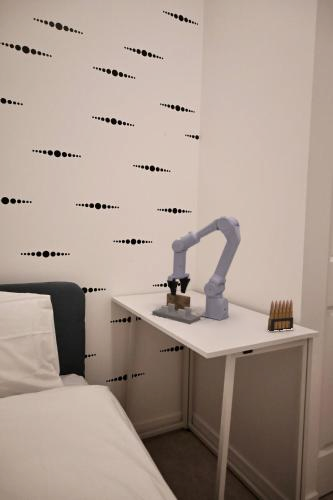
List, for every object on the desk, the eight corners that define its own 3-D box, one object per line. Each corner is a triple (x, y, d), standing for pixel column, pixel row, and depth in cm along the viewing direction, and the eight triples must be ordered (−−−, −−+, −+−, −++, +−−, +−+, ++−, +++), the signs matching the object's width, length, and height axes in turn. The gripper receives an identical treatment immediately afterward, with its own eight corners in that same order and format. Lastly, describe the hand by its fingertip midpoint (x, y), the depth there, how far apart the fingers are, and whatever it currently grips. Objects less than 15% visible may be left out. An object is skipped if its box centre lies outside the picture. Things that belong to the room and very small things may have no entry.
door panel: (189, 311, 146) (190, 296, 146) (185, 313, 144) (186, 297, 143) (169, 307, 154) (169, 292, 153) (165, 308, 151) (165, 293, 151)
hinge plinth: (200, 319, 133) (201, 309, 133) (189, 324, 127) (190, 313, 127) (163, 311, 146) (163, 301, 145) (152, 314, 139) (152, 304, 139)
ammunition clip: (289, 328, 125) (291, 298, 124) (293, 330, 123) (294, 300, 123) (267, 331, 122) (268, 300, 121) (270, 332, 120) (272, 301, 119)
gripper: (181, 263, 156) (180, 290, 157) (163, 265, 145) (162, 295, 146) (193, 265, 152) (192, 293, 153) (175, 267, 140) (174, 297, 141)
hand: (178, 294), depth 149 cm, fingers open, 7 cm apart
